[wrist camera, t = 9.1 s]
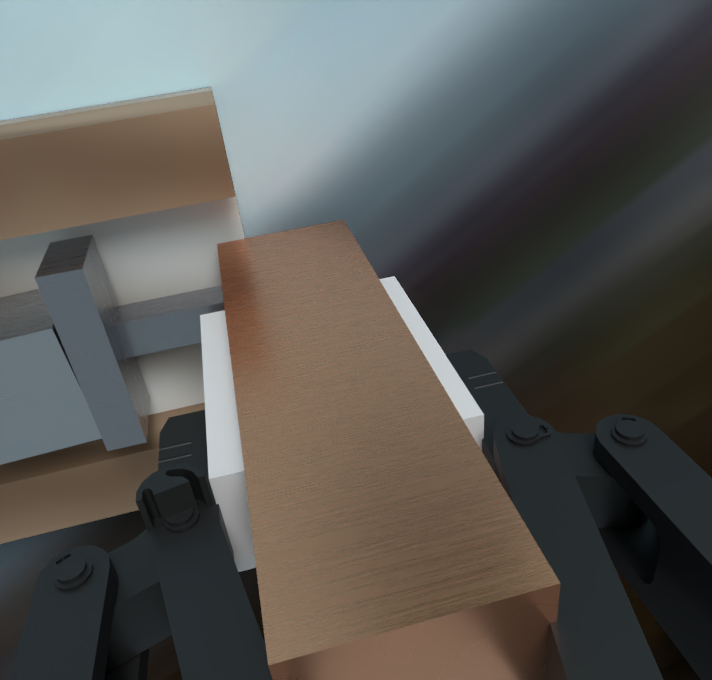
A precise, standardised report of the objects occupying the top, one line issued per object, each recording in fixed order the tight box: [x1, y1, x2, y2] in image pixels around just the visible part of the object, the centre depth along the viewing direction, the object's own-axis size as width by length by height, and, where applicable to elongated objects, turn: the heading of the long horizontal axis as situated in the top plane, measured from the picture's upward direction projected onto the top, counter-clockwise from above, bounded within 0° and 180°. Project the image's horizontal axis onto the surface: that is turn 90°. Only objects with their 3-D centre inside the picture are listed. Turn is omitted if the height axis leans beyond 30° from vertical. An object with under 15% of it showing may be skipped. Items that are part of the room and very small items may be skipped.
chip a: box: [0, 289, 102, 465], centre depth 20 cm, size 4×4×3 cm
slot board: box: [0, 87, 245, 544], centre depth 20 cm, size 13×14×3 cm
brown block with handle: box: [35, 220, 560, 680], centre depth 15 cm, size 6×9×14 cm
